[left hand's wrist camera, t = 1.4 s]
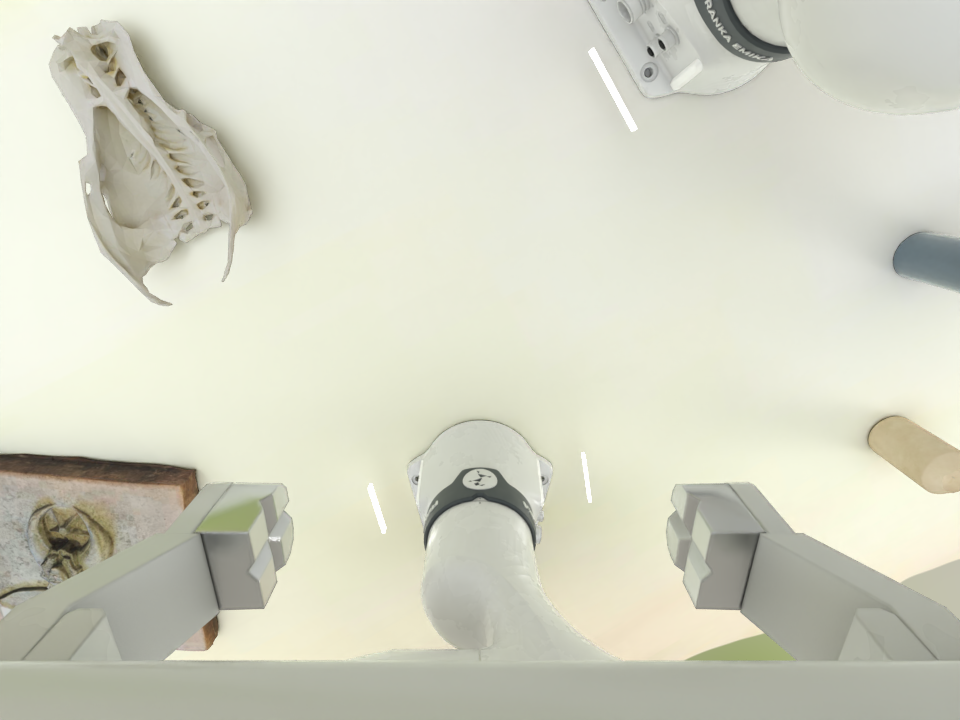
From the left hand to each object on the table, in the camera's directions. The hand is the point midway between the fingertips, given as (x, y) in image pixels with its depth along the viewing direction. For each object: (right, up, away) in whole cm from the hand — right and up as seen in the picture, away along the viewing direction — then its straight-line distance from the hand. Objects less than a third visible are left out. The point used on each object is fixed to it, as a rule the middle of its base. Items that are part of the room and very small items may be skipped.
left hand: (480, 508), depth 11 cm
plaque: (-53, -23, +61) cm, 84 cm away
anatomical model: (-32, +23, +42) cm, 58 cm away
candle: (+52, -6, +54) cm, 75 cm away
